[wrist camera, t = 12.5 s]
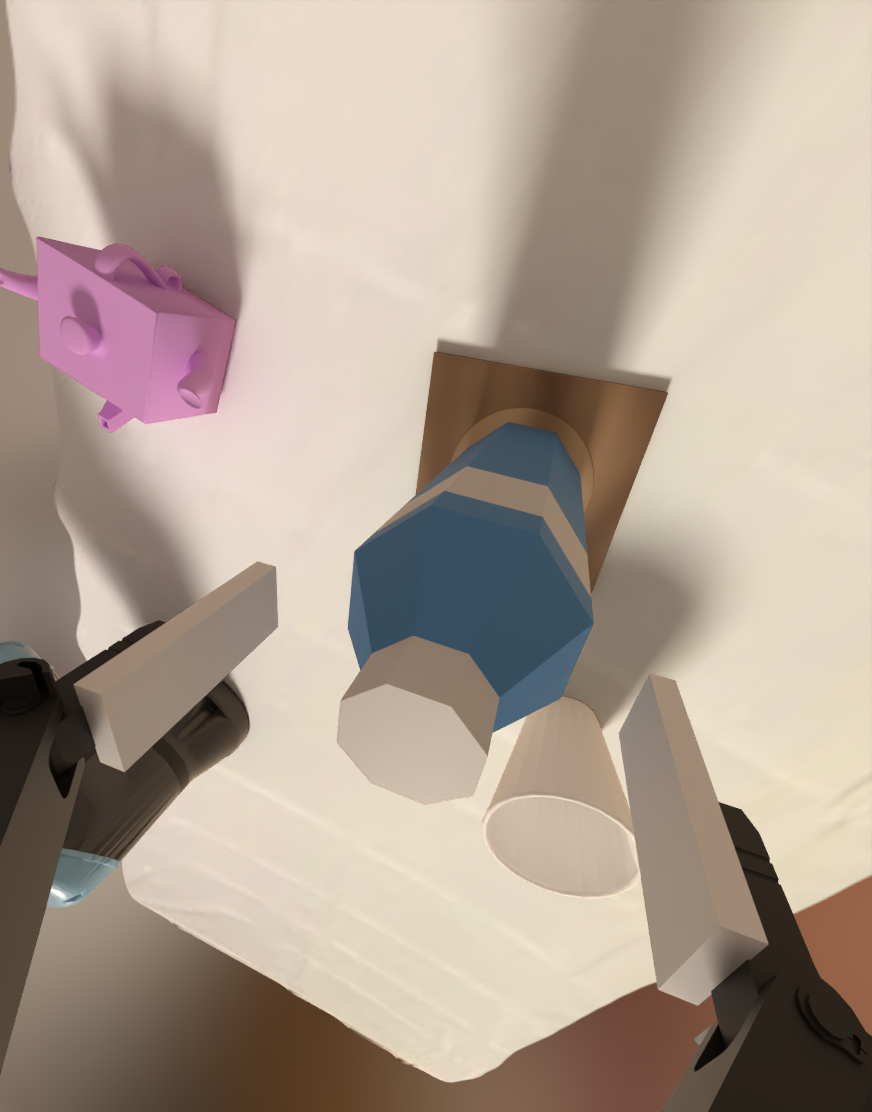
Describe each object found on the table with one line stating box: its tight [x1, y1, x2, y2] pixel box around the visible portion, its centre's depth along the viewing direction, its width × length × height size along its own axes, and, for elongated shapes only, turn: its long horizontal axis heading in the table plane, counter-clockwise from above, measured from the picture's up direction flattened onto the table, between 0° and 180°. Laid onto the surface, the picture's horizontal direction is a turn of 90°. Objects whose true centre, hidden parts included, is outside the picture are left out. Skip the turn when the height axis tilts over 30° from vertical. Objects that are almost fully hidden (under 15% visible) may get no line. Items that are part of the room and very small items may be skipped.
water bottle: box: [337, 422, 593, 805], centre depth 21 cm, size 9×9×25 cm
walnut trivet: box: [416, 352, 668, 592], centre depth 32 cm, size 16×16×1 cm
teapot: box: [0, 237, 236, 433], centre depth 32 cm, size 18×13×10 cm
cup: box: [482, 696, 641, 898], centre depth 36 cm, size 12×12×12 cm
